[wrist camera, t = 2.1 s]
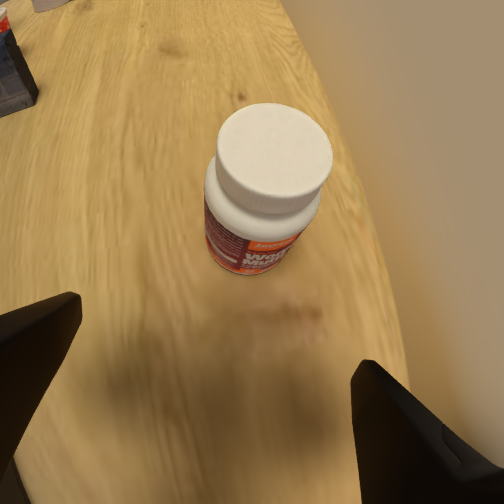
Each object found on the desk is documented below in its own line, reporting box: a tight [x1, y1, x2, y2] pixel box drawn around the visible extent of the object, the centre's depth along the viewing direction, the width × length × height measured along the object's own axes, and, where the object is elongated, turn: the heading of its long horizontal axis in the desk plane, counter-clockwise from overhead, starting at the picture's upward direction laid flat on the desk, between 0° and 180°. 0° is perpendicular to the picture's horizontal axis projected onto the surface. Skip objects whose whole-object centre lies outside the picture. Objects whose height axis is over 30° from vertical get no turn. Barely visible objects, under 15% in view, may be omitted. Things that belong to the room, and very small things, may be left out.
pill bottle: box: [204, 103, 333, 275], centre depth 18 cm, size 6×6×11 cm
